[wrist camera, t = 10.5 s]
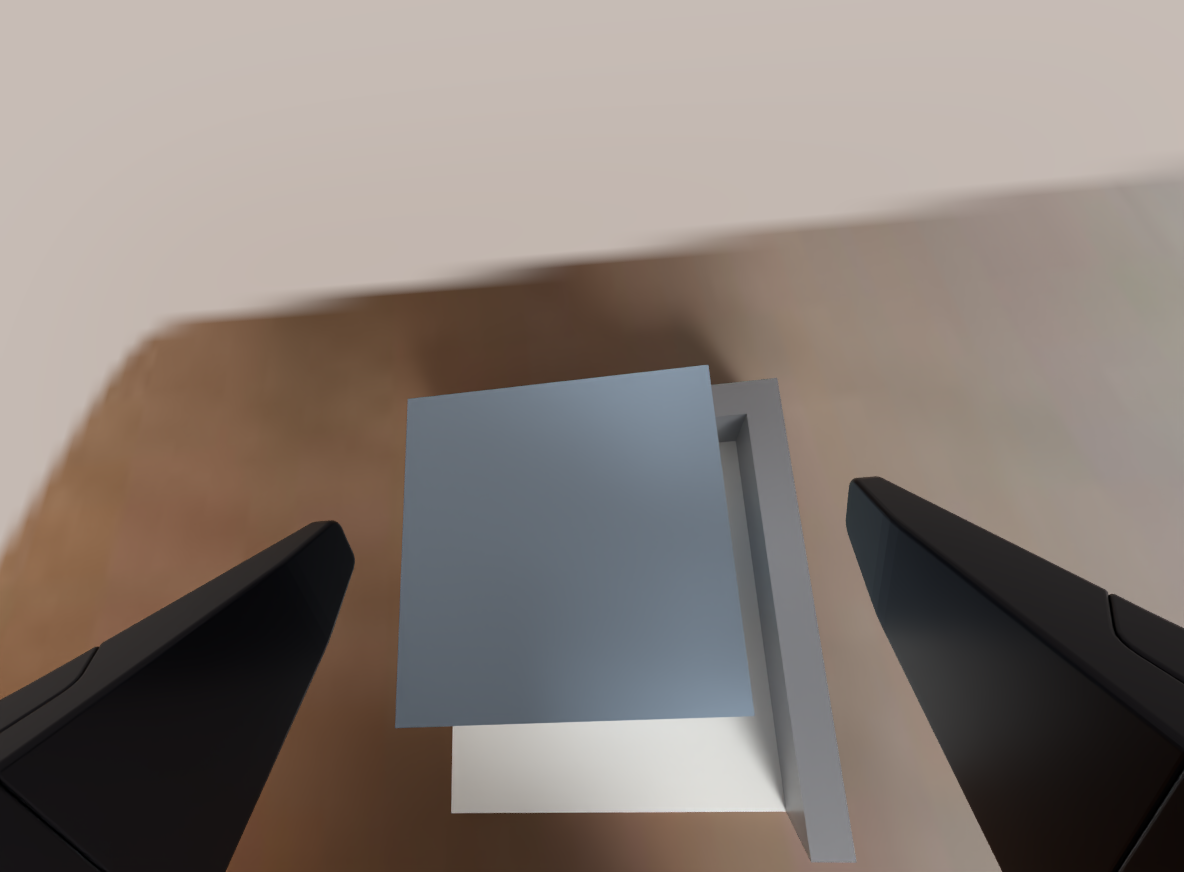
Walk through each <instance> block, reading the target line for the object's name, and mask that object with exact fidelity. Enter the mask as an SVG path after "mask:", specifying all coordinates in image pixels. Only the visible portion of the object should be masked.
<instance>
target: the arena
mask: <svg viewBox="0 0 1184 872" xmlns="http://www.w3.org/2000/svg"><path fill="white" fill-rule="evenodd" d="M711 389H712V396H713V404H714V411H715V419H716V426H717V434H718V442H719V449H720V457H721V464H722V472H723V479H724V487H725V494H726V502H727V510H728V517H729V525H730V532H731V540H732V547H733V555H734V563H735V570H736V578H737V585H738V593H739V600H740V608H741V616H742V623H743V631H744V638H745V646H746V653H747V661H748V668H749V676H750V684H751V691H752V699H753V706H754V714H755V716H743V717H713V718H683V719H653V720H623V721H593V722H563V723H533V724H503V725H472V726H453V740H452V801H451V813H582V812H772V811H786V812H787V814H788V816H789V818H790V820H791V822H792V824H793V826H794V828H795V830H796V833H797V835H798V837H799V839H800V841H801V843H802V845H803V847H804V849H805V851H806V853H807V855H808V857H809V859H810V861H811V862H856V856H855V850H854V844H853V838H852V832H851V826H850V820H849V814H848V807H847V801H846V795H845V789H844V783H843V777H842V771H841V765H840V759H839V753H838V746H837V740H836V734H835V728H834V722H833V716H832V710H831V704H830V698H829V691H828V685H827V679H826V673H825V667H824V661H823V655H822V649H821V643H820V637H819V630H818V624H817V618H816V612H815V606H814V600H813V594H812V588H811V582H810V576H809V569H808V563H807V557H806V551H805V545H804V539H803V533H802V527H801V521H800V515H799V508H798V502H797V496H796V490H795V484H794V478H793V472H792V466H791V460H790V453H789V447H788V441H787V435H786V429H785V423H784V417H783V411H782V405H781V399H780V392H779V386H778V380H777V378H772V379H763V380H753V381H743V382H734V383H724V384H715V385H711Z"/></svg>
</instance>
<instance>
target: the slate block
mask: <svg viewBox="0 0 1184 872" xmlns="http://www.w3.org/2000/svg"><path fill="white" fill-rule="evenodd" d="M743 716H755V714H754V706H753V699H752V691H751V684H750V676H749V668H748V661H747V653H746V646H745V638H744V631H743V623H742V616H741V608H740V600H739V593H738V585H737V578H736V570H735V563H734V555H733V547H732V540H731V532H730V525H729V517H728V510H727V502H726V494H725V487H724V479H723V472H722V464H721V457H720V449H719V442H718V434H717V426H716V419H715V411H714V404H713V396H712V389H711V381H710V373H709V366H708V365H701V366H692V367H684V368H675V369H666V370H657V371H649V372H640V373H631V374H622V375H614V376H605V377H596V378H587V379H579V380H570V381H561V382H552V383H543V384H535V385H526V386H517V387H508V388H500V389H491V390H482V391H473V392H465V393H456V394H447V395H438V396H430V397H421V398H412V399H408V409H407V435H406V460H405V486H404V512H403V538H402V563H401V589H400V615H399V641H398V667H397V692H396V718H395V728H412V727H442V726H472V725H503V724H533V723H563V722H593V721H623V720H653V719H683V718H713V717H743Z"/></svg>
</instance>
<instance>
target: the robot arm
mask: <svg viewBox="0 0 1184 872" xmlns="http://www.w3.org/2000/svg"><path fill="white" fill-rule="evenodd" d="M846 527H847V532H848V535H849V538H850V541H851V544H852V547H853V550H854V553H855V555H856V558H857V561H858V564H859V567H860V570H861V573H862V576H863V578H864V581H865V584H866V587H867V590H868V593H869V596H870V598H871V601H872V604H873V607H874V609H875V612H876V614H877V617H878V619H879V621H880V623H881V625H882V628H883V630H884V632H885V634H886V636H887V638H888V640H889V642H890V644H891V646H892V648H893V650H894V652H895V654H896V656H897V658H898V660H899V662H900V664H901V666H902V668H903V670H904V673H905V675H906V677H907V679H908V681H909V683H910V685H911V687H912V689H913V691H914V693H915V695H916V697H917V699H918V701H919V703H920V705H921V707H922V709H923V711H924V713H925V715H926V717H927V719H928V721H929V723H930V725H931V728H932V730H933V732H934V734H935V736H936V738H937V740H938V742H939V744H940V746H941V748H942V750H943V752H944V754H945V756H946V758H947V760H948V762H949V764H950V766H951V768H952V770H953V772H954V774H955V776H956V778H957V780H958V783H959V785H960V787H961V789H962V791H963V793H964V795H965V797H966V799H967V801H968V803H969V805H970V807H971V809H972V811H973V813H974V815H975V817H976V819H977V821H978V823H979V825H980V827H981V829H982V831H983V833H984V835H985V838H986V840H987V842H988V844H989V846H990V848H991V850H992V852H993V854H994V856H995V858H996V860H997V862H998V864H999V866H1000V868H1001V870H1002V872H1184V628H1182V627H1180V626H1178V625H1176V624H1174V623H1172V622H1170V621H1168V620H1166V619H1164V618H1162V617H1160V616H1157V615H1155V614H1153V613H1151V612H1149V611H1147V610H1145V609H1143V608H1141V607H1139V606H1137V605H1135V604H1133V603H1131V602H1129V601H1127V600H1125V599H1123V598H1121V597H1119V596H1117V595H1115V594H1110V595H1109V596H1108V592H1107V591H1106V590H1105V589H1103V588H1101V587H1099V586H1097V585H1095V584H1093V583H1091V582H1089V581H1087V580H1085V579H1083V578H1081V577H1079V576H1077V575H1075V574H1073V573H1071V572H1069V571H1067V570H1065V569H1063V568H1061V567H1059V566H1057V565H1055V564H1053V563H1051V562H1049V561H1047V560H1045V559H1043V558H1041V557H1039V556H1037V555H1035V554H1033V553H1031V552H1029V551H1027V550H1025V549H1023V548H1021V547H1019V546H1017V545H1015V544H1013V543H1011V542H1009V541H1007V540H1005V539H1003V538H1001V537H999V536H997V535H995V534H993V533H991V532H989V531H987V530H985V529H983V528H981V527H979V526H977V525H975V524H973V523H971V522H969V521H967V520H965V519H963V518H961V517H959V516H957V515H955V514H953V513H951V512H949V511H947V510H945V509H943V508H941V507H939V506H937V505H935V504H933V503H931V502H929V501H927V500H925V499H923V498H921V497H919V496H917V495H915V494H913V493H911V492H909V491H907V490H905V489H903V488H901V487H899V486H897V485H895V484H893V483H891V482H889V481H887V480H885V479H883V478H881V477H876V476H875V477H863V478H854V479H853V480H852V481H851V483H850V485H849V492H848V503H847V513H846ZM354 564H355V558H354V554H353V551H352V549H351V547H350V545H349V543H348V540H347V538H346V536H345V534H344V532H343V530H342V527H341V526H340V524H339V523H338V522H336V521H333V520H331V521H318V522H313V523H311V524H309V525H307V526H305V527H303V528H302V529H300V530H298V531H297V532H295V533H293V534H291V535H290V536H288V537H286V538H284V539H283V540H281V541H279V542H277V543H276V544H274V545H272V546H270V547H269V548H267V549H265V550H263V551H262V552H260V553H258V554H256V555H255V556H253V557H251V558H249V559H248V560H246V561H244V562H242V563H241V564H239V565H237V566H236V567H234V568H232V569H230V570H229V571H227V572H225V573H223V574H222V575H220V576H218V577H216V578H215V579H213V580H211V581H209V582H208V583H206V584H204V585H202V586H201V587H199V588H197V589H195V590H194V591H192V592H190V593H188V594H187V595H185V596H183V597H181V598H180V599H178V600H176V601H175V602H173V603H171V604H169V605H168V606H166V607H164V608H162V609H161V610H159V611H157V612H155V613H154V614H152V615H150V616H148V617H147V618H145V619H143V620H141V621H140V622H138V623H136V624H134V625H133V626H131V627H129V628H127V629H126V630H124V631H122V632H120V633H119V634H117V635H115V636H113V637H112V638H110V639H108V640H107V641H105V642H103V643H102V644H101V645H100V647H94V648H92V649H91V650H89V651H87V652H85V653H84V654H82V655H80V656H78V657H77V658H75V659H73V660H71V661H70V662H68V663H66V664H64V665H63V666H61V667H59V668H57V669H56V670H54V671H52V672H50V673H48V674H47V675H45V676H43V677H41V678H39V679H38V680H36V681H34V682H32V683H31V684H29V685H27V686H25V687H23V688H21V689H20V690H18V691H16V692H14V693H12V694H10V695H8V696H7V697H5V698H3V699H1V700H0V872H226V869H227V867H228V865H229V863H230V860H231V858H232V856H233V854H234V852H235V849H236V847H237V845H238V843H239V841H240V838H241V836H242V834H243V832H244V829H245V827H246V825H247V823H248V821H249V818H250V816H251V814H252V812H253V810H254V807H255V805H256V803H257V801H258V798H259V796H260V794H261V792H262V790H263V787H264V785H265V783H266V781H267V779H268V776H269V774H270V772H271V770H272V767H273V765H274V763H275V761H276V759H277V756H278V754H279V752H280V750H281V747H282V745H283V743H284V741H285V739H286V736H287V734H288V732H289V730H290V728H291V725H292V723H293V721H294V719H295V716H296V714H297V712H298V710H299V708H300V705H301V703H302V701H303V699H304V697H305V694H306V692H307V690H308V688H309V685H310V683H311V681H312V679H313V677H314V674H315V672H316V670H317V668H318V665H319V663H320V661H321V659H322V657H323V654H324V652H325V650H326V647H327V645H328V643H329V640H330V637H331V634H332V632H333V629H334V626H335V623H336V620H337V617H338V614H339V611H340V608H341V605H342V602H343V599H344V596H345V593H346V590H347V587H348V584H349V581H350V578H351V575H352V572H353V569H354Z"/></svg>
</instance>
